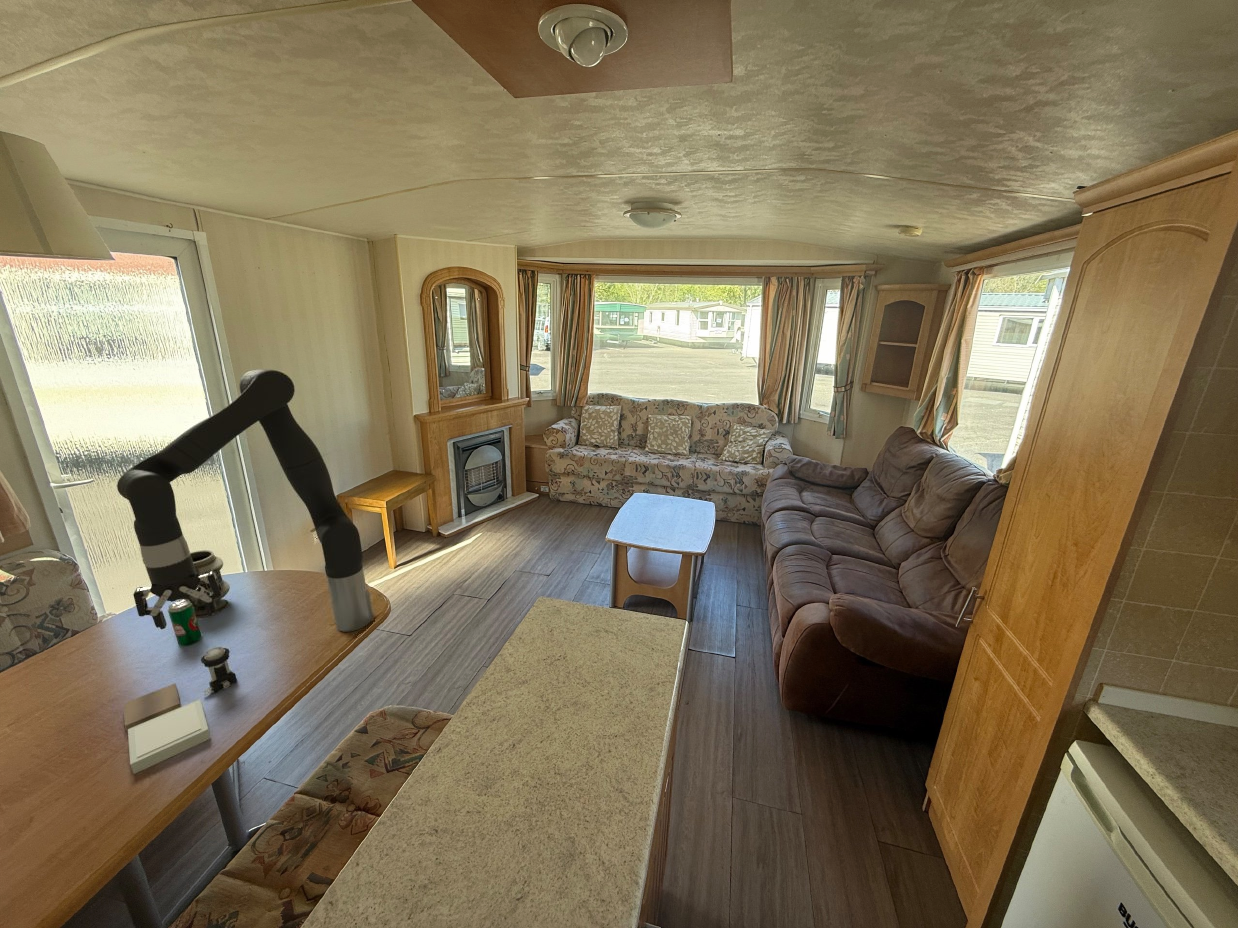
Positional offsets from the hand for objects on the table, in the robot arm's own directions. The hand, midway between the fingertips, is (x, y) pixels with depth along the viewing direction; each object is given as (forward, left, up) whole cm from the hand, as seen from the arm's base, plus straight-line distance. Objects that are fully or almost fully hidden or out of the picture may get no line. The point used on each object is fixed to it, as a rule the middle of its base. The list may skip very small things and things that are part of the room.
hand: (188, 620), depth 112 cm
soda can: (+1, -28, -20) cm, 34 cm away
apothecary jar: (-5, -44, -20) cm, 48 cm away
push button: (-2, 0, -20) cm, 20 cm away
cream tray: (+8, +11, -20) cm, 24 cm away
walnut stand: (+10, -2, -20) cm, 22 cm away
